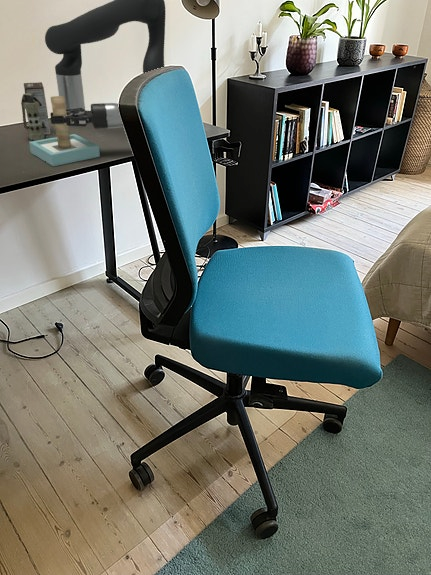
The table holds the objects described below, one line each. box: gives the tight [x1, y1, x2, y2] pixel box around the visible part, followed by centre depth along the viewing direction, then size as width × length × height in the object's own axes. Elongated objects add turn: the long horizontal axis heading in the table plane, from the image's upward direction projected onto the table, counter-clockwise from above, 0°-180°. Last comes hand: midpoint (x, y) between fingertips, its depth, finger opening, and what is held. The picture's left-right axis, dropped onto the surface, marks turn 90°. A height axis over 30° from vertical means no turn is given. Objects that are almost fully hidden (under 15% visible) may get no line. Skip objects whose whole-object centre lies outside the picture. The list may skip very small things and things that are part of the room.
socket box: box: [28, 133, 101, 167], centre depth 150 cm, size 16×16×4 cm
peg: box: [50, 95, 71, 149], centre depth 146 cm, size 4×4×15 cm
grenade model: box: [20, 92, 46, 141], centre depth 161 cm, size 6×7×15 cm
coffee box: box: [23, 81, 52, 136], centre depth 167 cm, size 9×6×16 cm
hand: (51, 118), depth 144 cm, fingers closed on peg, 4 cm apart
